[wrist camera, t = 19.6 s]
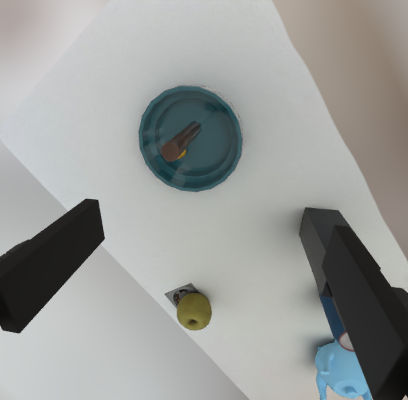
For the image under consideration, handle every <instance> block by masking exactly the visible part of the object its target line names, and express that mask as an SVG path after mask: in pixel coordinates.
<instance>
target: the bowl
mask: <svg viewBox="0 0 408 400" xmlns="http://www.w3.org/2000/svg"><path fill="white" fill-rule="evenodd" d="M192 122H197V123H199V124H200V126H201V131H200V133H199V134H198V135H197V136H196V138H195V139H194V140H193V141H192V142H191V143H190V145H189V146H188V147H187V148H186V153H185V155H184V156H183V157H182V158H180V159H177V160H175V161H167V160H166V159H164V158H163V156H162V154H161V148H162V146H163V145H164V144H165V143H166V142H168V141H169V140H170V139H171V138H173V137H174V136H175V135H176V134H178V133H179V132H180V131H181V130H183V129H184V128H185V127H186V126H188V125H189V124H190V123H192ZM242 140H243V131H242V126H241V122H240V117H239V115H238V113H237V112H236V110H235V108H234V107H233V105H232V103H231V102H230V101H229V100H228V99H226V98H225V97H224V96H223V95H222V94H221V93H219V92H218V91H215V90H213V89H210V88H208V87H205V86H195V85H185V86H178V87H175V88H172V89H169V90H166V91H164V92H163V93H161V94H160V95H159V96H158V97H156V98H155V99H154V100H152V101H151V102H150V104H149V106H148V107H147V109H146V111H145V112H144V114H143V115H142V119H141V123H140V128H139V144H140V150H141V153H142V155H143V158H144V160H145V163H146V164H147V166H148V167H149V168H150V170H151V171H152V172H153V174H154V175H155V176H156V177H157V178H159V179H160V180H161V181H163V182H164V183H165V184H167V185H169V186H171V187H174V188H176V189H179V190H182V191H192V192H198V191H203V190H208V189H212V188H213V187H215V186H217V185H219V184H220V183H222V182H224V181H225V180H226V179H227V178H228V176H229V175H230V174H231V173H232V172H233V171H234V170H235V168H236V165H237V163H238V161H239V159H240V156H241V150H242Z"/></svg>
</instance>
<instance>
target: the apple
mask: <svg viewBox="0 0 408 400" xmlns="http://www.w3.org/2000/svg"><path fill="white" fill-rule="evenodd" d="M211 315H212V310H211V305H210V303H209V300H208V299H207V298H206V297H205V296H204V295H202V294H199V293H189V294H187V295H185V296H184V297H183V298H182V299H181V301H180V302H179V304H178V307H177V318H178V320H179V322H180V324H181V325H183V326H184V327H185V328H187V329H190V330H200V329H203V328H205V327H206V326H207V325H208V324H209V322H210V320H211Z"/></svg>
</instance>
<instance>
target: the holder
mask: <svg viewBox="0 0 408 400" xmlns="http://www.w3.org/2000/svg"><path fill="white" fill-rule="evenodd" d="M334 225H340V226H349V224H348V223H347V221H346V220H345V219H344V217H343V216H342V215H341V213H340V212H339V211H338V210H327V209H316V208H305V211H304V215H303V219H302V223H301V228H300V232H299V236H300V238H301V241H302V244H303V247H304V250H305V252H306V255H307V258H308V261H309V264H310V266H311V269H312V272H313V275H314V277H315V280H316V283H317V286H318V289H319V291H320V294H321V296H322V297H330V298H332V300H333V303H334V305H335V307H336V310H337V312H338V315H339V317H340V320H341V322H342V325H343V327H344V330H345V331H346V329H345V326H344V323H343V321H342V318H341V316H340V313H339V311H338V308H337V305H336V303H335V300H334V298H333V295H332V293H331V290H330V287H329V285H328V282H327V280H326V277H325V275H324V272H323V269H322V267H321V266H322V263H323V259H324V256H325V253H326V249H327V246H328V243H329V240H330V236H331V233H332V230H333V227H334ZM349 227H350V226H349ZM350 228H351V227H350ZM351 229H352V228H351ZM352 231H353V230H352ZM353 232H354V231H353ZM354 234H355V232H354ZM355 235H356V234H355ZM356 236H357V235H356ZM357 238H358V236H357ZM358 239H359V238H358ZM359 241H360V239H359ZM360 242H361V241H360ZM361 244H362V245H363V243H362V242H361ZM363 247H364V248H365V250H366V251H367V252H368V250H367V249H366V247H365V246H364V245H363ZM368 254H369V255H370V257H371V258H372V260H373V261H374V263H375V264H376V266H377V267H378V268H379V270H380V269H381V268H380V267H379V265H378V264H377V263H376V261H375V260H374V258H373V257H372V256H371V254H370V253H369V252H368ZM346 332H347V331H346Z"/></svg>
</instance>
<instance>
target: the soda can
mask: <svg viewBox="0 0 408 400" xmlns="http://www.w3.org/2000/svg"><path fill="white" fill-rule="evenodd" d="M319 296H320V300H321V302H322V305H323V308H324V311H325V314H326V317H327V320H328V322H329V325H330V328H331V331H332V334H333V336H334V338H335V339H336V340H337V341H338V342H339V343H340V345H341V347H342V348H344V349H345V350H347V351H351V352H354V349H353V347H352V344H351V341H350V339H349V336H348V334H347V332H346V331H345V330H344V327H343V325H342V322H341V320H340V317H339V315H338V312H337V310H336V307H335V305H334V303H333V300H332V298H330V297H322V296H321V294H320V293H319Z"/></svg>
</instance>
